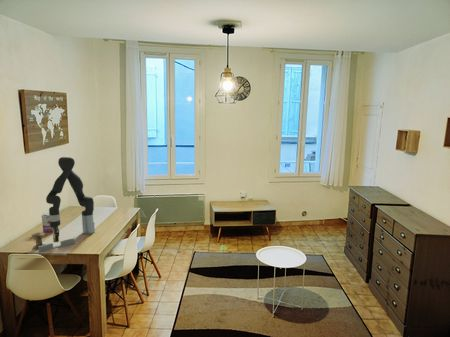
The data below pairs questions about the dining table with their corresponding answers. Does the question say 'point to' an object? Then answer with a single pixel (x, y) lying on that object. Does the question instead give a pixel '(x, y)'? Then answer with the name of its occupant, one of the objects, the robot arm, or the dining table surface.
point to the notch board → (50, 246)
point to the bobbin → (38, 239)
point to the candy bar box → (46, 223)
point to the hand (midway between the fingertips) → (56, 239)
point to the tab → (54, 238)
